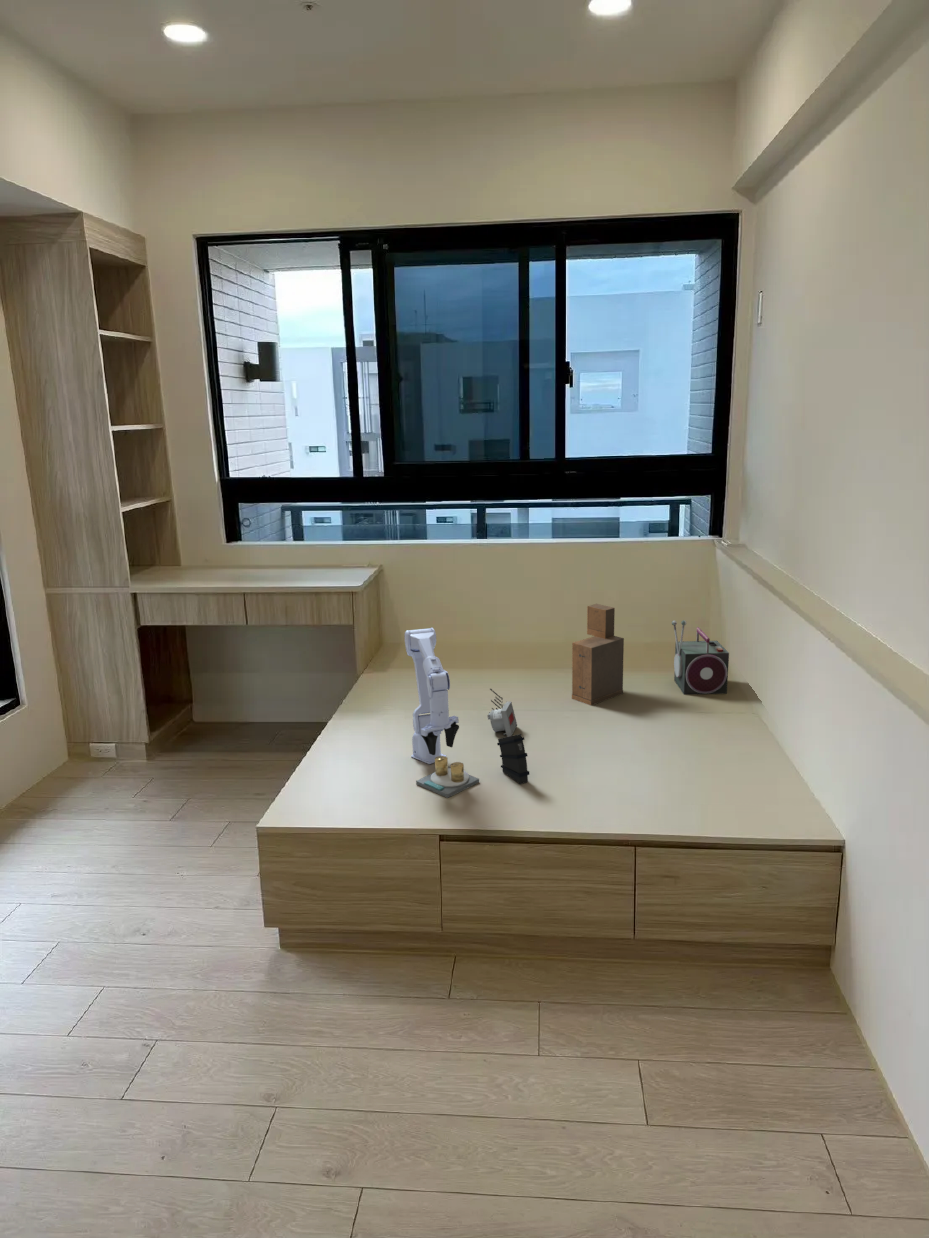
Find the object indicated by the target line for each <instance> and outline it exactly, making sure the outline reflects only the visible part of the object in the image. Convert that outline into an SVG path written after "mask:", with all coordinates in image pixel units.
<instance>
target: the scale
mask: <svg viewBox="0 0 929 1238" xmlns="http://www.w3.org/2000/svg"><path fill="white" fill-rule="evenodd" d="M478 783H480V778H478V777H476V776H473V775H471V774H469V773H468V772H467V771H466V770H464V781H462V782H453V781H451V766H449V765H448V774H447V775H444V776H438V775H436V774H435V771H433V772H432V773H430V774H427V775H426V776H424V777H421V778H419V779H417V780H415V784H416V785H417V786H419V787H422V788H424V789H426V790H428V791H430V792H433V793H436V794H438V795H439V796H442V797H445V798H446V799H448V798H450V797H453V796H454V795H456V794H459V793H460V792H463V791H464V790H466V789H468V788H471V787H472V786H474V785H477V784H478Z"/></svg>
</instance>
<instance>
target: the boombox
mask: <svg viewBox="0 0 929 1238" xmlns="http://www.w3.org/2000/svg"><path fill="white" fill-rule="evenodd" d="M677 624H678V622H677V620H672V621H671V625H672V626H673V632H674V636H675V638H674V639H675V647H674V648H675V649H674V650H675V651H674V657H673V666H674V667H673V669H674V677H673V678H674V680H673V681H674V682H675V684H676V685H677V687H678V689H679V690H680V692H681V693H682V694H683V696H684V695H718V694H719V695H722V694H723V695H725V694H728V681H729V663H730V662H729V659H730V658H729V657H730V652H729V651H728V649H726V648H725V647H724V646H723V645H722V644H721V643H720V642H719V641H718V640H710V637H709V636H708V635H707V634H706V633H705V632H704V631H703V630H702V629H701V628H700V627H698V626H697V627H696V640H689V641H688V640H687V641H685V640H684V641H683V638H684V632H685V631H684V630H685V626H686V625H687V621H686V620H684V619H683V620H681V622H680V624H681V625H682V626H681V633H680V641H679V639H678V634H677V633H678V632H677V626H676V625H677ZM700 637H701V638H702V639H703V640H699V639H700Z"/></svg>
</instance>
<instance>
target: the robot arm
mask: <svg viewBox="0 0 929 1238" xmlns="http://www.w3.org/2000/svg"><path fill="white" fill-rule="evenodd" d="M404 644H405V645H404V646H405V651H406V654H407V656H409V657H411V658H412V661H413V665H414V672H415V680H416V686H417V694H418V701H419V703H418V704H419V705H418V706H417V707H416V708H415V709H414V710H413V712H412V727H413V731H414V733H413V734H412V738H411V741H412V754H411V755H410V756H411V758H413V759H416V760H419V761H420V762H422V763H425V764H428V765H432V764H435V758H436V757H438V756H446V757H447V755H446V754H443V753H442V749H441V735H442V732H443V731H444V734H445V735H444V737H445V744H446V747H449V748H453V746H454V742H455V738H456V735H457V733H458V731H459V730H460V724H459V722H460V721H459V716H457V715H452V716H449V715H450V714H449V711H450V710H449V709H450V708H449V690H450V689H451V681H450V680H451V679H450V675H449V672H448V671H446V669H444V667H443V665H442V663H441V660H440V658H439V657H437V656H436V655H435V651H434V650H435V648H436V645H437V632H436V630H435V629H434V627H430V628H419V629H410V630H409V629H408V630H407V629H406V631H404Z"/></svg>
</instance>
